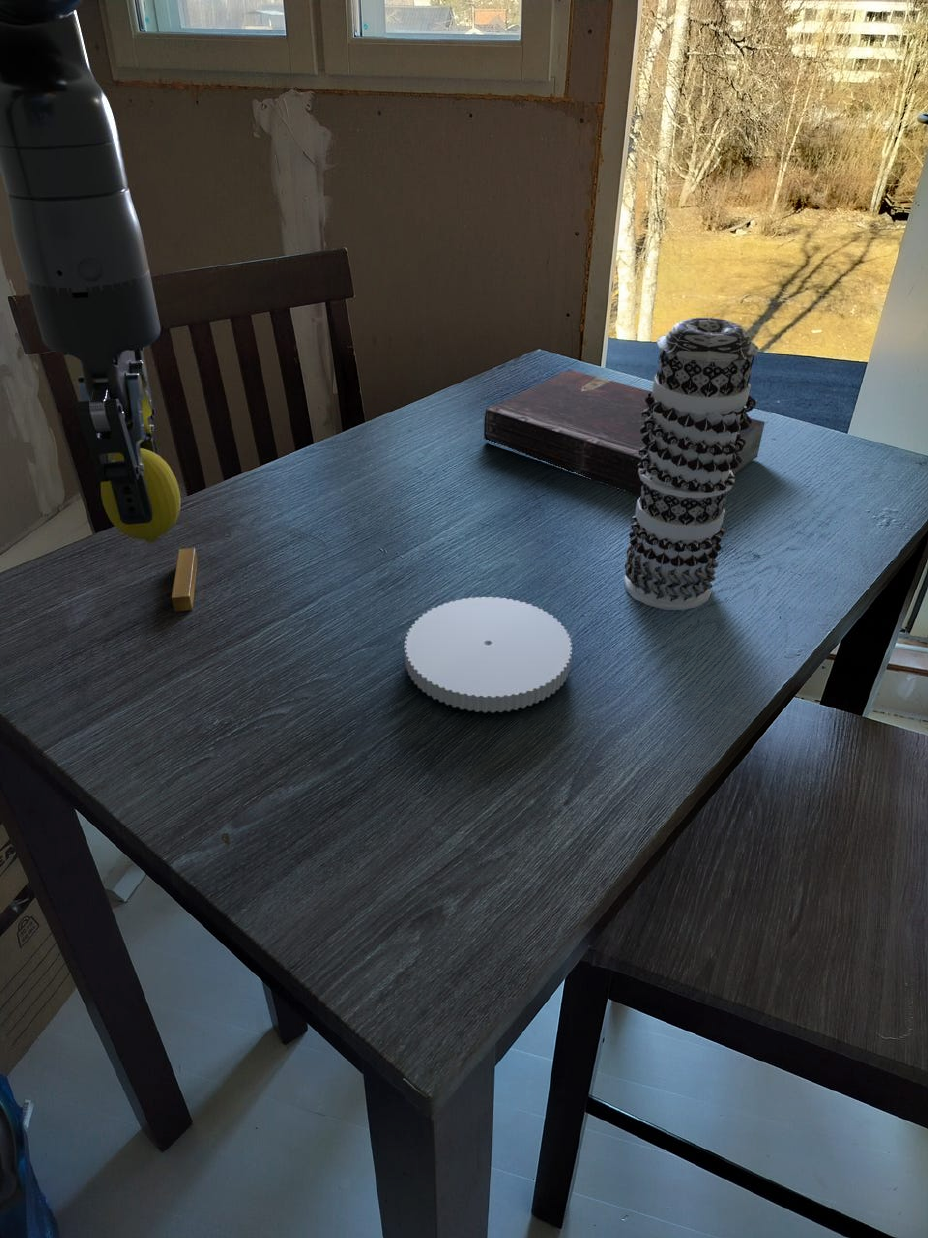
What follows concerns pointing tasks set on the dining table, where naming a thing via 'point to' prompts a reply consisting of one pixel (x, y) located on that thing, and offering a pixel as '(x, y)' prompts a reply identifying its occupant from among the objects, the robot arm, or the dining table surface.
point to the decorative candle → (688, 461)
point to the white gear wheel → (488, 654)
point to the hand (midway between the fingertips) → (142, 501)
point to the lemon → (161, 498)
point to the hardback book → (586, 427)
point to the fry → (185, 580)
